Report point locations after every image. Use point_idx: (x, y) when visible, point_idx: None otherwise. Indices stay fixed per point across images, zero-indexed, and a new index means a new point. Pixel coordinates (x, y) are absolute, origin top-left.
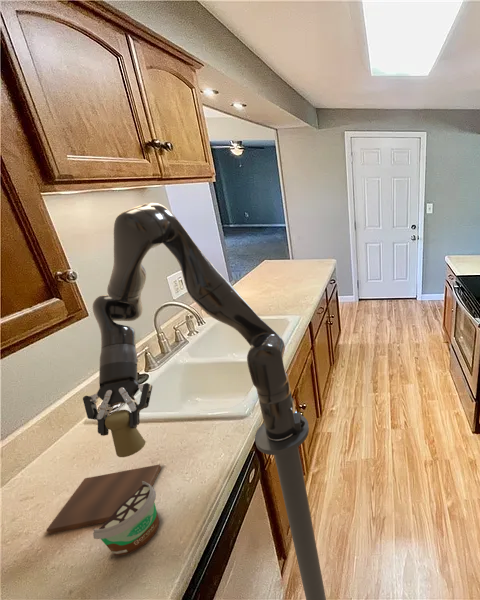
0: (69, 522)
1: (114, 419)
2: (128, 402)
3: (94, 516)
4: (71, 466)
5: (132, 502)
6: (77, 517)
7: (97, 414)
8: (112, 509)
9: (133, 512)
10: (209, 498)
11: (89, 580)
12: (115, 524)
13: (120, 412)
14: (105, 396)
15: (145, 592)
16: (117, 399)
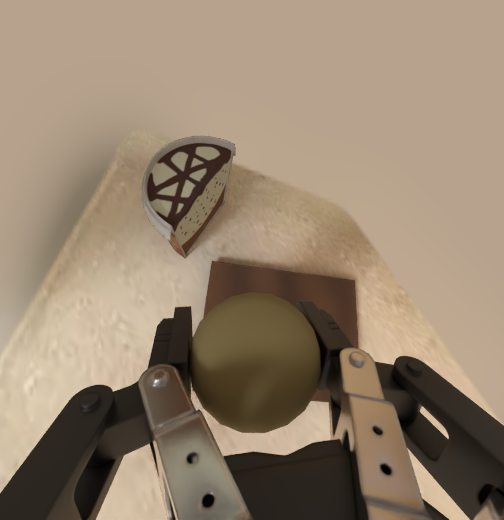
0: (323, 281)
1: (256, 307)
2: (182, 418)
3: (284, 278)
4: (425, 484)
5: (182, 184)
6: (315, 288)
7: (384, 385)
8: (257, 281)
9: (173, 160)
10: (73, 250)
11: (245, 181)
12: (201, 149)
13: (242, 368)
14: (420, 515)
15: (164, 137)
16: (290, 483)
